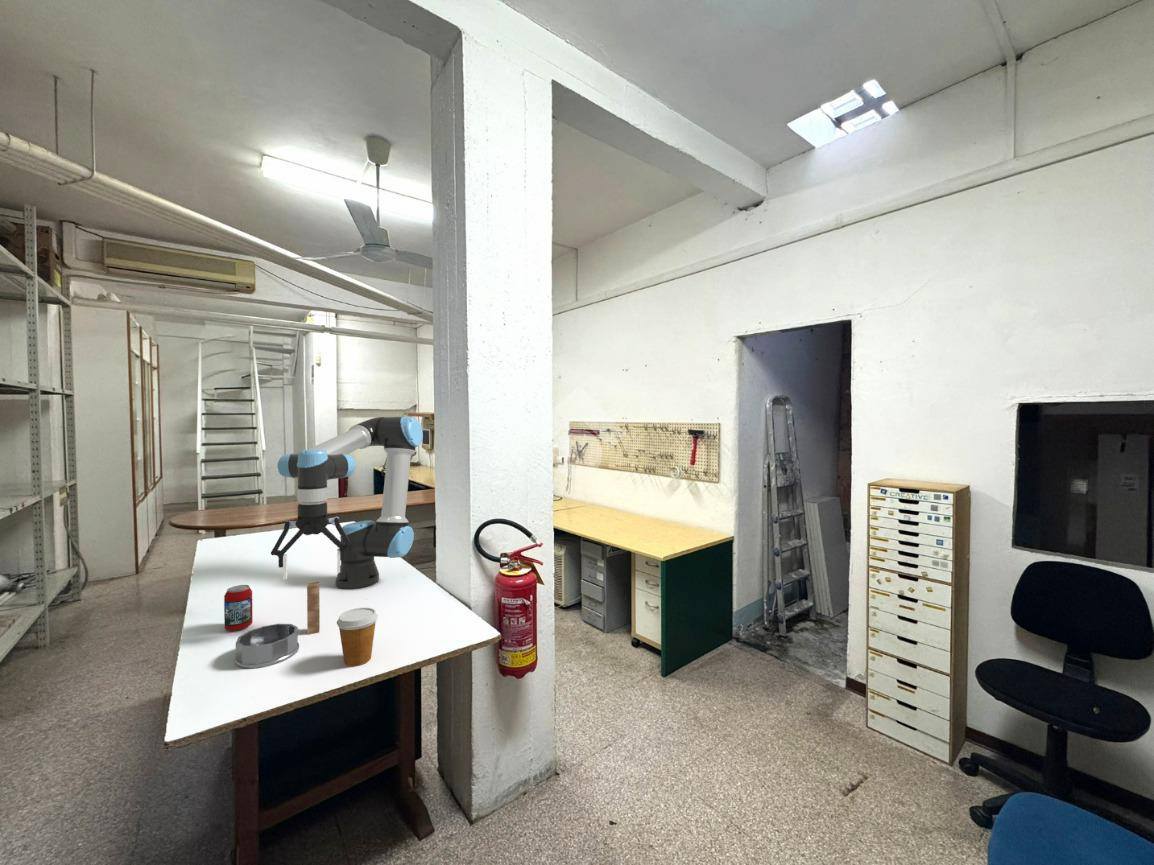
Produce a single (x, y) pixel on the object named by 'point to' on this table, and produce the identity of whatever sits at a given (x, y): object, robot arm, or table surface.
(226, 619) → the beverage can
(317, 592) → the long wooden beam
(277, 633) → the tin
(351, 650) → the disposable coffee cup
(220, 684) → the table surface
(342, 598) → the table surface
